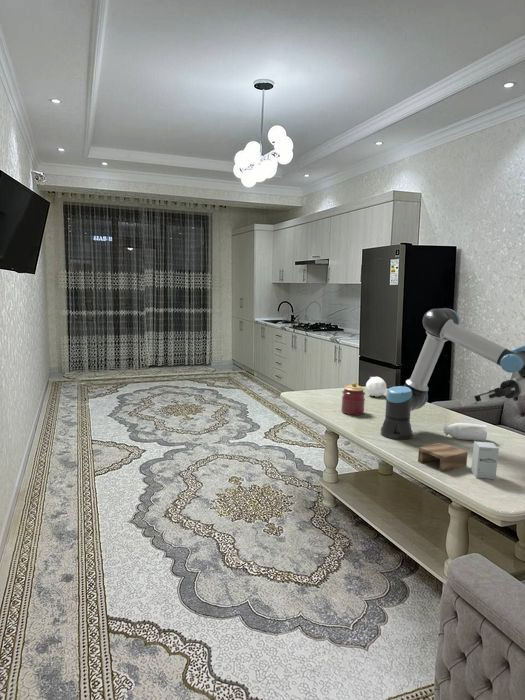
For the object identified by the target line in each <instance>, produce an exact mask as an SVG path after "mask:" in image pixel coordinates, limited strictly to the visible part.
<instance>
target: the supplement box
mask: <svg viewBox="0 0 525 700" xmlns="http://www.w3.org/2000/svg"><path fill="white" fill-rule="evenodd" d="M472 448H473V449H472V459H471V468H470V471H471V473H472V474H473V476H474V477H475V478H476V479H488V480H491V479H492V480H496V477H497V468H498V459H499V450H500V448H499V447H498V446H497V445H496V444H495V443H494V442H489V441H488V442H487V441H485V442H484V441H474V440H473V446H472Z"/></svg>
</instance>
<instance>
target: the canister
mask: <svg viewBox="0 0 525 700" xmlns="http://www.w3.org/2000/svg"><path fill="white" fill-rule="evenodd" d="M343 389H344V390H343V391H342V396H341V413H342V412H343V413H342V414H344V413H346V414H345V415H348V414H350V415H349V416H361V415H364V412H365V400H366V398H365V395H366V392H365V389H364V387H362V386H361V385H358V384H357V383H356V382H352V384H347V385H345V386H344V387H343Z"/></svg>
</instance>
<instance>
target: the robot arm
mask: <svg viewBox="0 0 525 700" xmlns="http://www.w3.org/2000/svg"><path fill="white" fill-rule="evenodd" d="M460 322H461V319H460V317H459V315H458V313H457V311H455V310H453V309H451V308H447V307H443V308H432V309H430V310H428V311H427V312H425V313H424V315H423V318H422V325H423V328H424V329H425V333H426V335H427V336H426V339H425V340H424V344H423V346H422V347H421V348H422V349H421V351H420V353H419V356H418V358H417V362H416V363H415V366H414V369H413V371H412V374H411V376H410V377H409V378H408V379H406V380H405V382H404V385H398V386H391V387H390V388H388V389H387V390H386V392H387V393H386V399H385V400H386V401H385V416H384V417H385V418H384V420H383V423H382V427H380V435H381V436H383V437H385V438H388V439H393V440H409V439H412V438H413V433H414V432H413V430H412V425H411V412H412V411H415V410H418V409H421V408H422V407H424V406H425V405H426V403H427V402H428V398H429V394H428V392H429V387H428V384H429V381H430V378H431V376H432V374H433V372H434V369H435V366H436V364H437V362H438V359H439V357H440V355H441V353H442V350H443V348H444V345H445V342H448V341H450V342H453V343H454V344H456V345H459V346H460V347H462V348H465V349H466V350H468V351H470V352H472V353H474V354H476V355H478V356H479V357H482V358H484V359H486V360H487V361H490V362H491V363H494V364H496V365H497V366H499V367H501V369H502V370H503V372H507V373H508V374H509V373H511V374H512V373H518V376H515V377H514V378H509V379H507V380H504V381H502V382H501V383H500V386H499V387H495V388H494V389H491V390H488V392H484V393H481V394H478V395H474V396H470V397H468V398H464V399H462V400H460V402H461V403H460V404H461V406H462V407H467V406H470V405H472V404H475V405H476V404H477V402H481V403H485V402H488V401H492V400H495V399H498V398H501V397H504V398H506V399H507V400H508V399H510V400H511V399H513V398H516V397H519V396H522V397H524V396H525V345H521V346H518V347H516V348H513V349H511V350H510V349H508V348H507V347H504V346H502V345H500V344H498V343H496V342H494V341H491V340H490V339H487V338H486V337H483V336H482V335H479V334H477V333H475V332H473V331H471V330H469V329H467V328H464V327H463V326H461V325H460Z"/></svg>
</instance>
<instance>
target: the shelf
mask: <svg viewBox="0 0 525 700" xmlns="http://www.w3.org/2000/svg"><path fill="white" fill-rule="evenodd" d="M468 453H469V452H468V451H466V450H463V449H460V448H457V447H455V446H451V445H449V444H446V443H444V442H438V443H434V444H430V445H428V444H427V445H423V446H419V447H418V457H417V462H419V463H421V462H423V463H427V462H430V461H436V460H439V468H438V469H439V471H441V472H442V471H443V473H444V471H445V472H448V470H449V471H453V470H458V469H461V468H465V467H467V466H468V465H467V464H468Z"/></svg>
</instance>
